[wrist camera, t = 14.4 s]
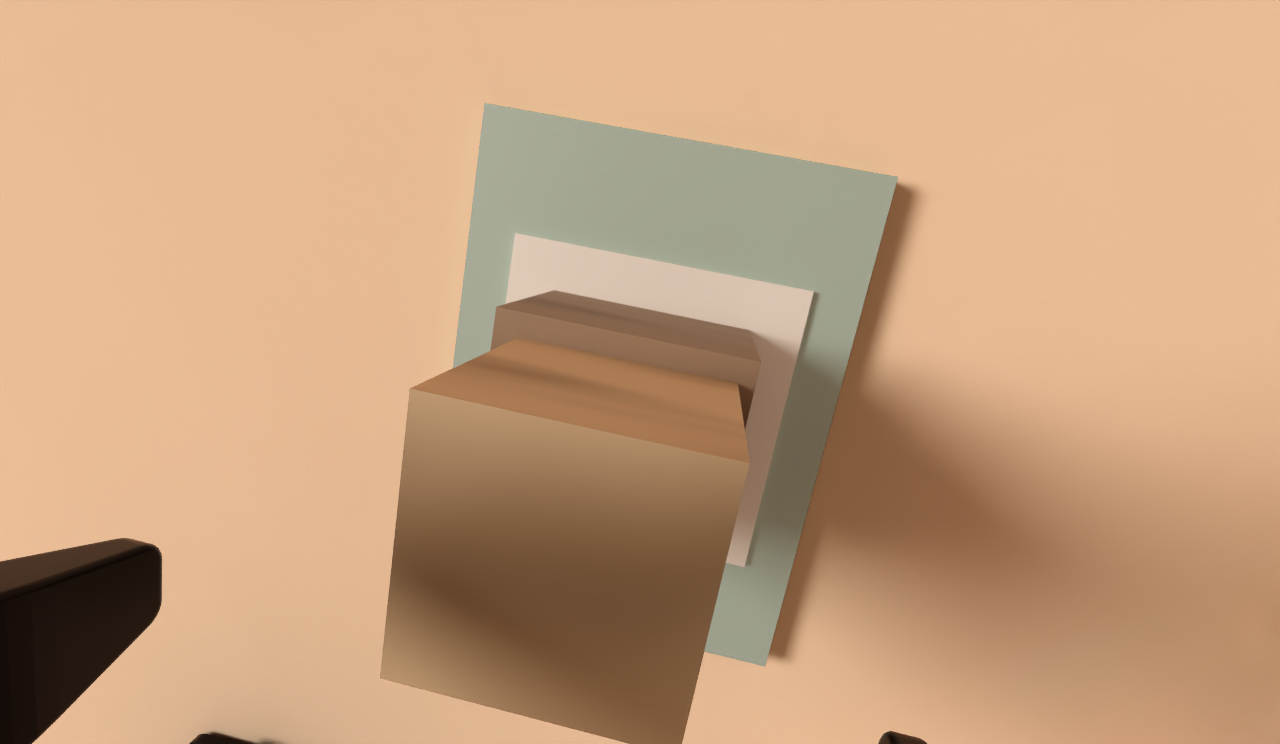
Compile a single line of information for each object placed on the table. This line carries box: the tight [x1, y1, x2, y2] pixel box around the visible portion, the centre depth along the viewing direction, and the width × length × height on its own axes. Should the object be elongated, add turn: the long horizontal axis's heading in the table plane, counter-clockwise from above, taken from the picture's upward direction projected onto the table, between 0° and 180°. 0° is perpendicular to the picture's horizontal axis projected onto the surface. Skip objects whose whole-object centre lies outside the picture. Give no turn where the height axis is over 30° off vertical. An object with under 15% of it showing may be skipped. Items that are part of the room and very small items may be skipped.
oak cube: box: [380, 338, 750, 744], centre depth 12 cm, size 5×5×5 cm
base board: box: [453, 103, 898, 666], centre depth 19 cm, size 16×12×1 cm
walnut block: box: [490, 290, 761, 428], centre depth 16 cm, size 6×6×5 cm
